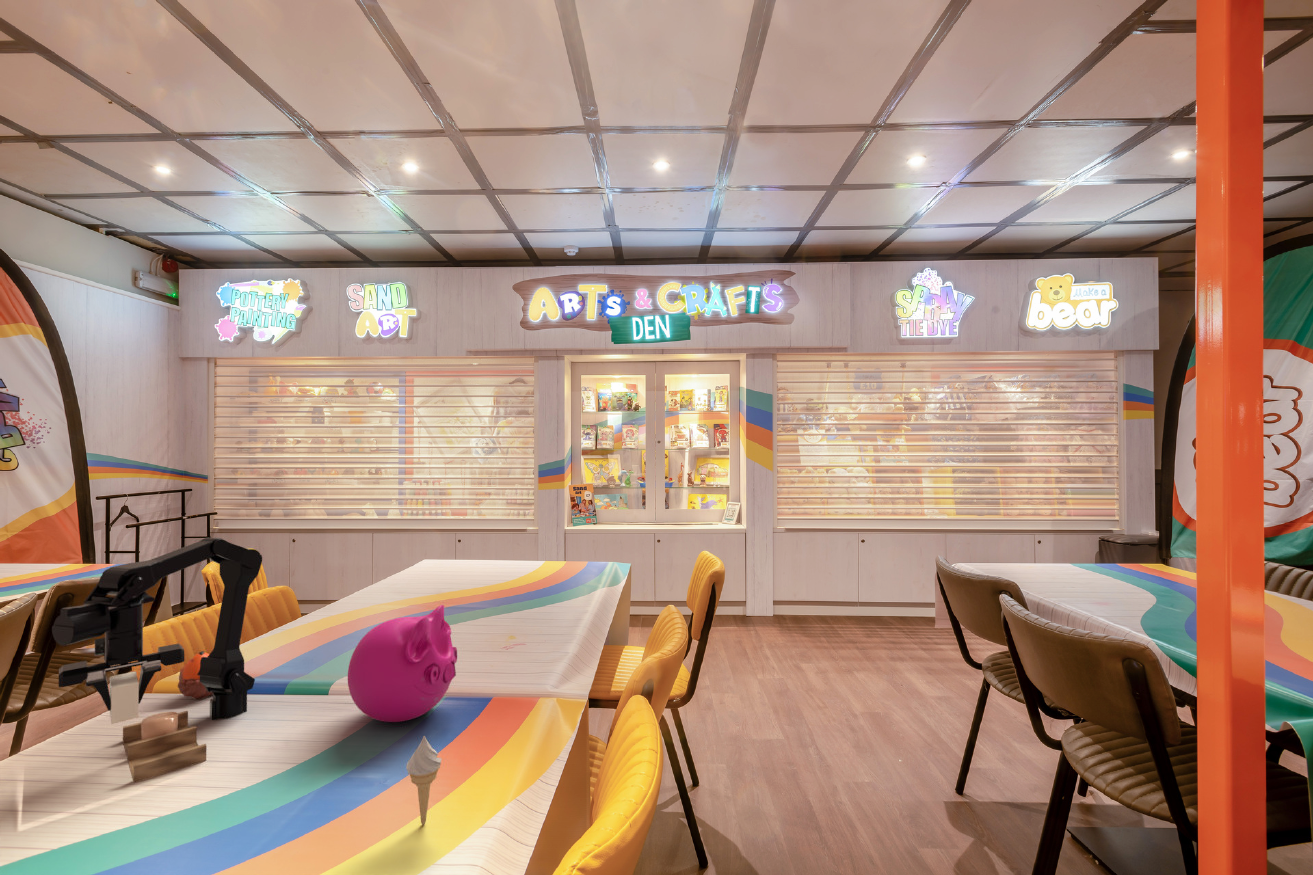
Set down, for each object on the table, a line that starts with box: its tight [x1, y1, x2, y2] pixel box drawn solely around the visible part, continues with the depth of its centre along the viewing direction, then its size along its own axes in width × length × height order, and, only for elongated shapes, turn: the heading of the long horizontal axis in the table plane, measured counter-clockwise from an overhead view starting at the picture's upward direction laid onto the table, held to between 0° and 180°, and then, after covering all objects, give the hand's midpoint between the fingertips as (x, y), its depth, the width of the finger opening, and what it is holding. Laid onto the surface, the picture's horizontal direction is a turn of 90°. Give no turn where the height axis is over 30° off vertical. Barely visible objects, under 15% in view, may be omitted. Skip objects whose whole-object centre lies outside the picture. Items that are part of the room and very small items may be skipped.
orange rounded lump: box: [177, 650, 213, 700], centre depth 154 cm, size 12×10×11 cm
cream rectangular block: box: [109, 671, 140, 725], centre depth 120 cm, size 4×8×7 cm, turn 44°
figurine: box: [347, 604, 458, 723], centre depth 142 cm, size 23×24×25 cm
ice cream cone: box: [405, 735, 443, 826], centre depth 101 cm, size 6×6×15 cm
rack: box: [122, 710, 207, 784], centre depth 124 cm, size 11×23×4 cm, turn 46°
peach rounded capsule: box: [140, 711, 179, 741], centre depth 128 cm, size 6×6×5 cm
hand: (124, 706), depth 120 cm, fingers closed on cream rectangular block, 4 cm apart
